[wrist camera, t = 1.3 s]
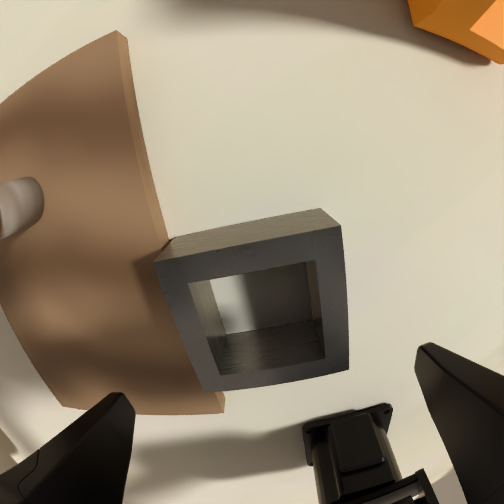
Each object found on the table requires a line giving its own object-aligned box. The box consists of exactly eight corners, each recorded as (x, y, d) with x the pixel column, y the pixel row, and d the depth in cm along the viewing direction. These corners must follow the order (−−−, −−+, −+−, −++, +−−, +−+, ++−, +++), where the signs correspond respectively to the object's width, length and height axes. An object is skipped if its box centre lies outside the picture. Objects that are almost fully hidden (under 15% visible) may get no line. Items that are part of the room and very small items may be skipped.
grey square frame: (333, 331, 14) (348, 369, 11) (212, 352, 14) (204, 392, 11) (320, 208, 12) (340, 225, 9) (174, 237, 12) (153, 262, 9)
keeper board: (225, 398, 16) (218, 469, 11) (68, 396, 16) (41, 442, 12) (127, 38, 9) (67, -6, 4) (-29, 142, 10) (-85, 152, 5)
